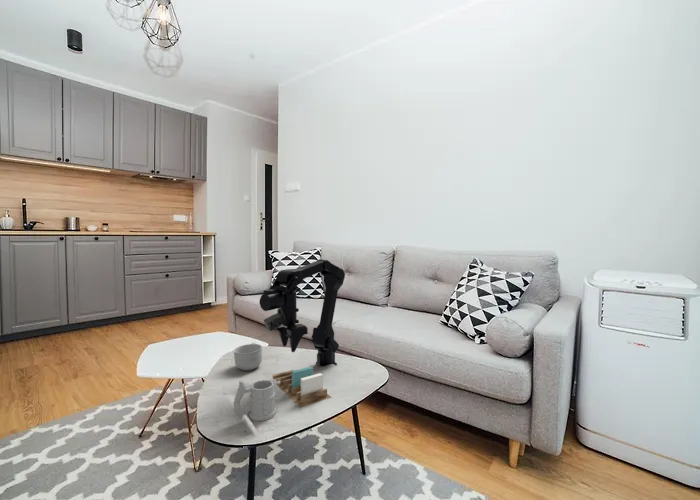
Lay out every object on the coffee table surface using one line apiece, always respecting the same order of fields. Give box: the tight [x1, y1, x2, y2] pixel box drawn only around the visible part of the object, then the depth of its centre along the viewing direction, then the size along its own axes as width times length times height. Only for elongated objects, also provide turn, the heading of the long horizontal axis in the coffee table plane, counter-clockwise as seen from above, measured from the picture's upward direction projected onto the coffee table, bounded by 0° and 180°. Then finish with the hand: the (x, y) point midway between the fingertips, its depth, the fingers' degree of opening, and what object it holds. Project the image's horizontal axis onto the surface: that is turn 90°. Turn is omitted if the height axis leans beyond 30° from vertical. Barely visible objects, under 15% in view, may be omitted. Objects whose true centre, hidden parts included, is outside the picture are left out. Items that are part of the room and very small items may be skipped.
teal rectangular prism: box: [292, 366, 314, 388], centre depth 112 cm, size 7×2×7 cm, turn 124°
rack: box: [276, 375, 333, 409], centre depth 112 cm, size 11×19×4 cm, turn 34°
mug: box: [232, 379, 277, 422], centre depth 97 cm, size 8×12×12 cm, turn 112°
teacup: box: [232, 342, 263, 371], centre depth 136 cm, size 14×11×8 cm
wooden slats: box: [272, 369, 295, 382], centre depth 124 cm, size 8×5×2 cm, turn 124°
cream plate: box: [301, 372, 324, 396], centre depth 107 cm, size 7×2×7 cm, turn 124°
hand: (288, 349), depth 121 cm, fingers open, 7 cm apart
